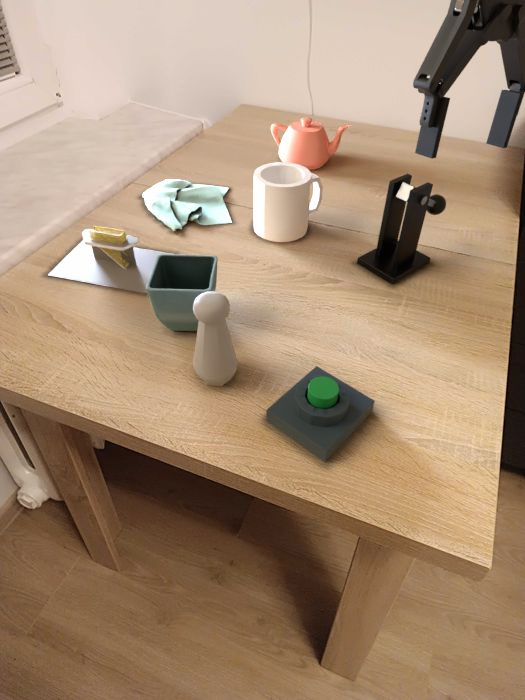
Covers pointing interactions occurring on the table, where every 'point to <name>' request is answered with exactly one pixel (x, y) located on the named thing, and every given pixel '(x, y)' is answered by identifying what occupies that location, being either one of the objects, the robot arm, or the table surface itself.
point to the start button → (323, 392)
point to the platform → (108, 261)
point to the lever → (435, 201)
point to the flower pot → (180, 288)
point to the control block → (319, 416)
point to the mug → (284, 200)
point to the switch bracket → (394, 255)
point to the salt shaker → (213, 340)
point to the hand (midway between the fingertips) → (462, 150)
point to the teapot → (306, 143)
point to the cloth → (187, 203)
